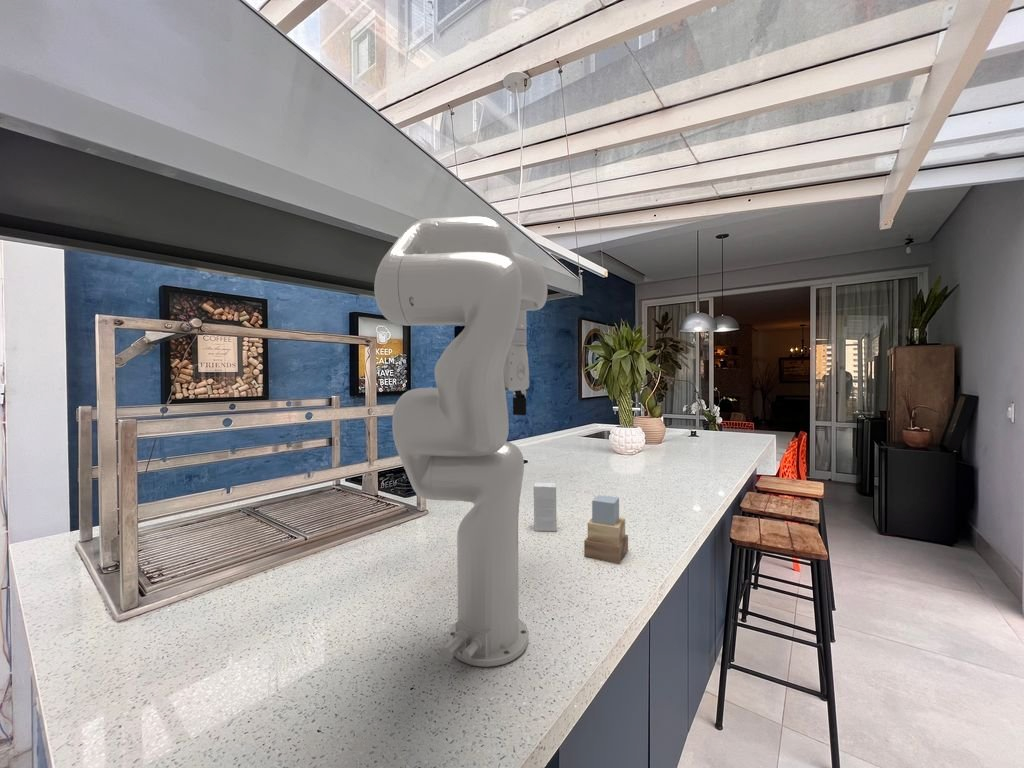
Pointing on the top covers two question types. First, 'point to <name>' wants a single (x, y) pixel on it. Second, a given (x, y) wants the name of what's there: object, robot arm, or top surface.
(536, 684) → the top surface
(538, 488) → the skincare box
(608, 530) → the tower top
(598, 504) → the cube
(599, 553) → the tower base
